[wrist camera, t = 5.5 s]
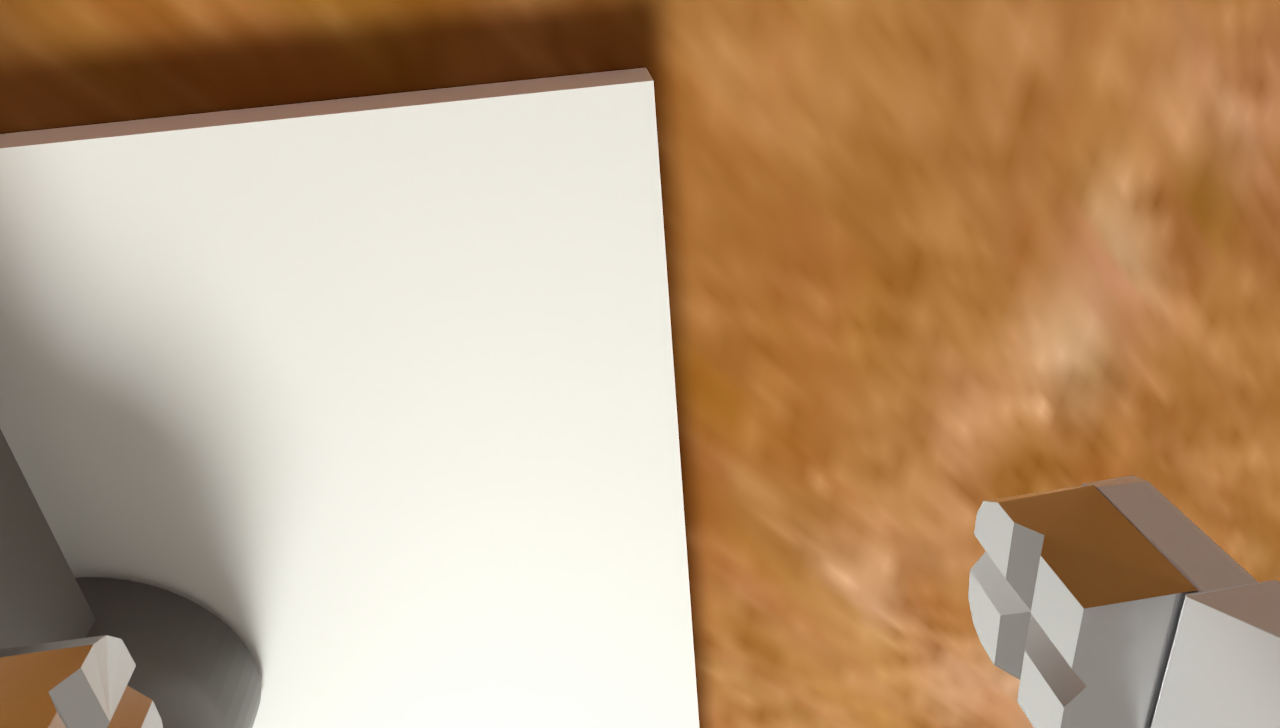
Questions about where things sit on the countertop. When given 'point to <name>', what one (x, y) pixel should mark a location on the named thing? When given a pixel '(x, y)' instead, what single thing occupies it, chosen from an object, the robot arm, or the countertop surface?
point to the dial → (120, 620)
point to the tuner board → (369, 393)
